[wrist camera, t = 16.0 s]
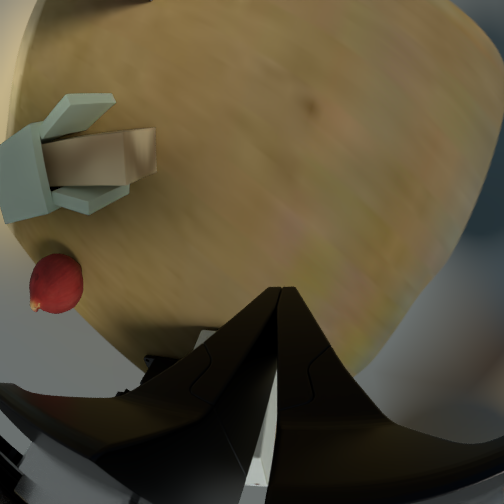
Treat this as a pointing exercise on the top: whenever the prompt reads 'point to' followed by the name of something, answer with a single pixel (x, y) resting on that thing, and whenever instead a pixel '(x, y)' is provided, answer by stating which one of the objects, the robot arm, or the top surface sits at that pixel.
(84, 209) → the forked bracket
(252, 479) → the supplement box
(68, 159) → the oak slat
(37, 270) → the onion
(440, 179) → the top surface
